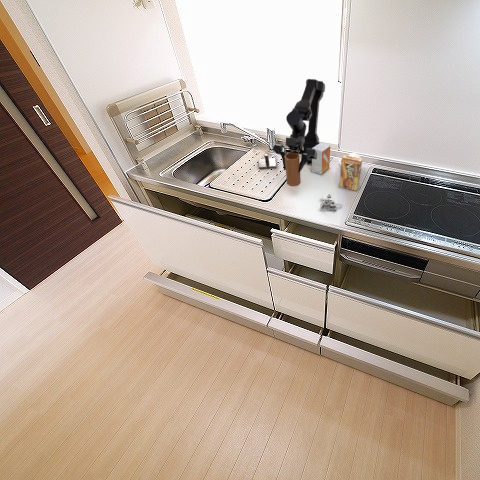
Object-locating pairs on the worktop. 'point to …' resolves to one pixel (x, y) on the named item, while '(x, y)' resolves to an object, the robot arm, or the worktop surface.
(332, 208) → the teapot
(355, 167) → the candy box
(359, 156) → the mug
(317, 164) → the small box
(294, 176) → the brown hollow cylinder
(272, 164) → the holder
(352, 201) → the worktop surface
